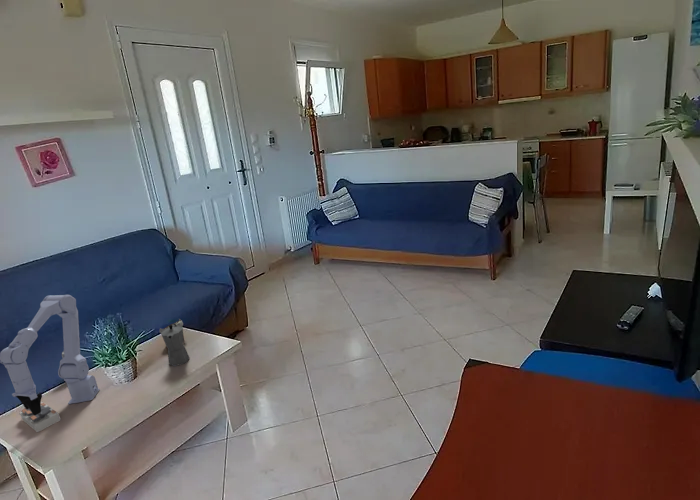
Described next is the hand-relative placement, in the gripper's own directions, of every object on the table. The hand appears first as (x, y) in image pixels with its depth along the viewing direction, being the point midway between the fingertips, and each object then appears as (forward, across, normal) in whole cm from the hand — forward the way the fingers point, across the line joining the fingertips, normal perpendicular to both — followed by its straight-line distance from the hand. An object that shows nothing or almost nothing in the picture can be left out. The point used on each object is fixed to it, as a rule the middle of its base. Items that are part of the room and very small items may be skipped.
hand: (33, 410), depth 165 cm
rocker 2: (+4, -8, +2) cm, 9 cm away
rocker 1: (+4, -13, +2) cm, 13 cm away
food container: (+9, -14, +66) cm, 68 cm away
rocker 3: (+4, -3, +2) cm, 5 cm away
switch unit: (+8, -8, +3) cm, 12 cm away
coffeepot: (+9, +3, +56) cm, 57 cm away
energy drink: (+9, -32, +26) cm, 42 cm away
